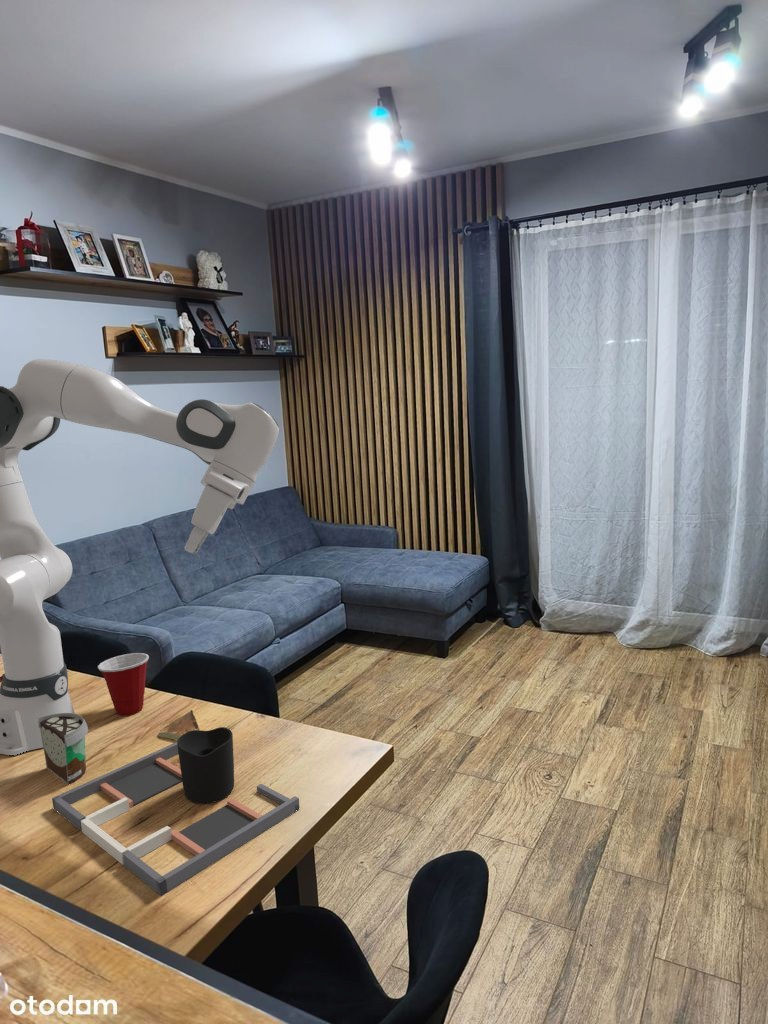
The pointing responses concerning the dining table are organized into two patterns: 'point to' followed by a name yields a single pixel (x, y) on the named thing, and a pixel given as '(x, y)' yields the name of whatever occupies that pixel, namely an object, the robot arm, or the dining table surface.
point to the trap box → (200, 838)
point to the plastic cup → (126, 681)
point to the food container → (64, 745)
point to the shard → (180, 726)
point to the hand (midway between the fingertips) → (189, 551)
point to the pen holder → (206, 764)
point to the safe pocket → (111, 844)
